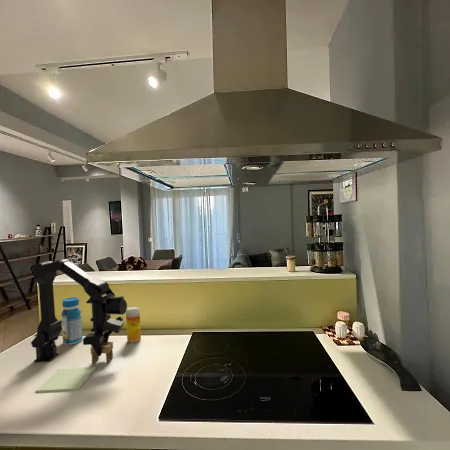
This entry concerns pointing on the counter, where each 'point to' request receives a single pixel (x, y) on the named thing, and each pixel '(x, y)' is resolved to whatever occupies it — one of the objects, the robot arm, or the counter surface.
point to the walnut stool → (106, 349)
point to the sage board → (67, 379)
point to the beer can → (133, 324)
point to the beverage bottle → (71, 321)
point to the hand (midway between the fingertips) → (102, 352)
